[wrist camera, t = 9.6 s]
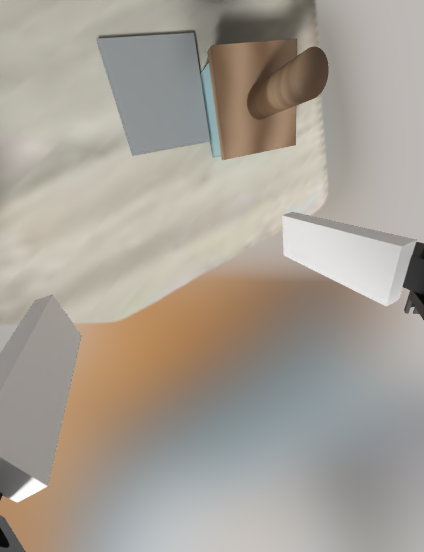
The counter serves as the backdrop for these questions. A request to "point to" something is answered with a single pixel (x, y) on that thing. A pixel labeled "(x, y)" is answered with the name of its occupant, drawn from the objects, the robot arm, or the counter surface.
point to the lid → (262, 92)
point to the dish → (210, 111)
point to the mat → (157, 90)
